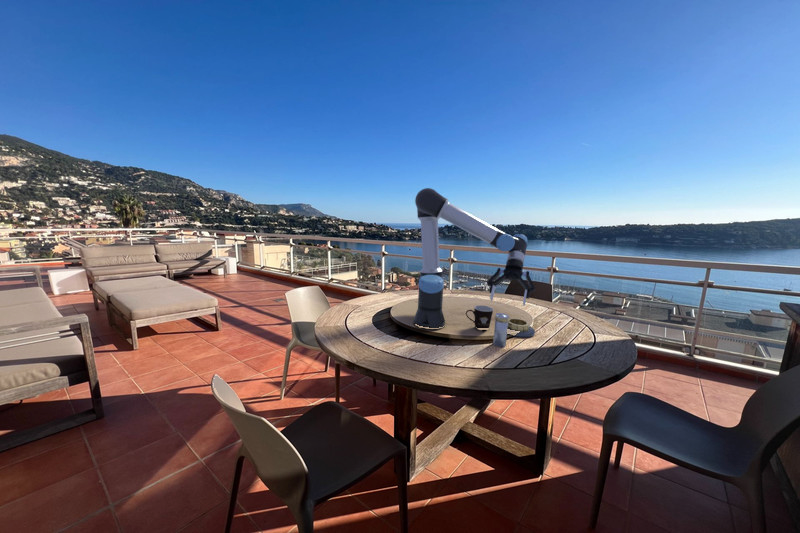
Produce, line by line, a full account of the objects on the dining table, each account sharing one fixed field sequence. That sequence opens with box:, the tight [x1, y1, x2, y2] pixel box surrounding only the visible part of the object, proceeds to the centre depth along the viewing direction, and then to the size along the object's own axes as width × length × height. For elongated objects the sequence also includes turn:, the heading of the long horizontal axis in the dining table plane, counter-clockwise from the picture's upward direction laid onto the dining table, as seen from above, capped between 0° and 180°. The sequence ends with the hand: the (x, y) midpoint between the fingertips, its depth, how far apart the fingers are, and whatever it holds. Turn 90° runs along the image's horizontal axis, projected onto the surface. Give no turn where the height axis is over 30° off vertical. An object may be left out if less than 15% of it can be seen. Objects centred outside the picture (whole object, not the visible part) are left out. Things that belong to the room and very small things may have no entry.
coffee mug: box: [465, 305, 494, 329], centre depth 138 cm, size 12×9×10 cm
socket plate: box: [507, 317, 536, 339], centre depth 136 cm, size 15×15×4 cm
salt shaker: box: [492, 312, 510, 348], centre depth 120 cm, size 5×5×13 cm
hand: (507, 301), depth 127 cm, fingers open, 13 cm apart
